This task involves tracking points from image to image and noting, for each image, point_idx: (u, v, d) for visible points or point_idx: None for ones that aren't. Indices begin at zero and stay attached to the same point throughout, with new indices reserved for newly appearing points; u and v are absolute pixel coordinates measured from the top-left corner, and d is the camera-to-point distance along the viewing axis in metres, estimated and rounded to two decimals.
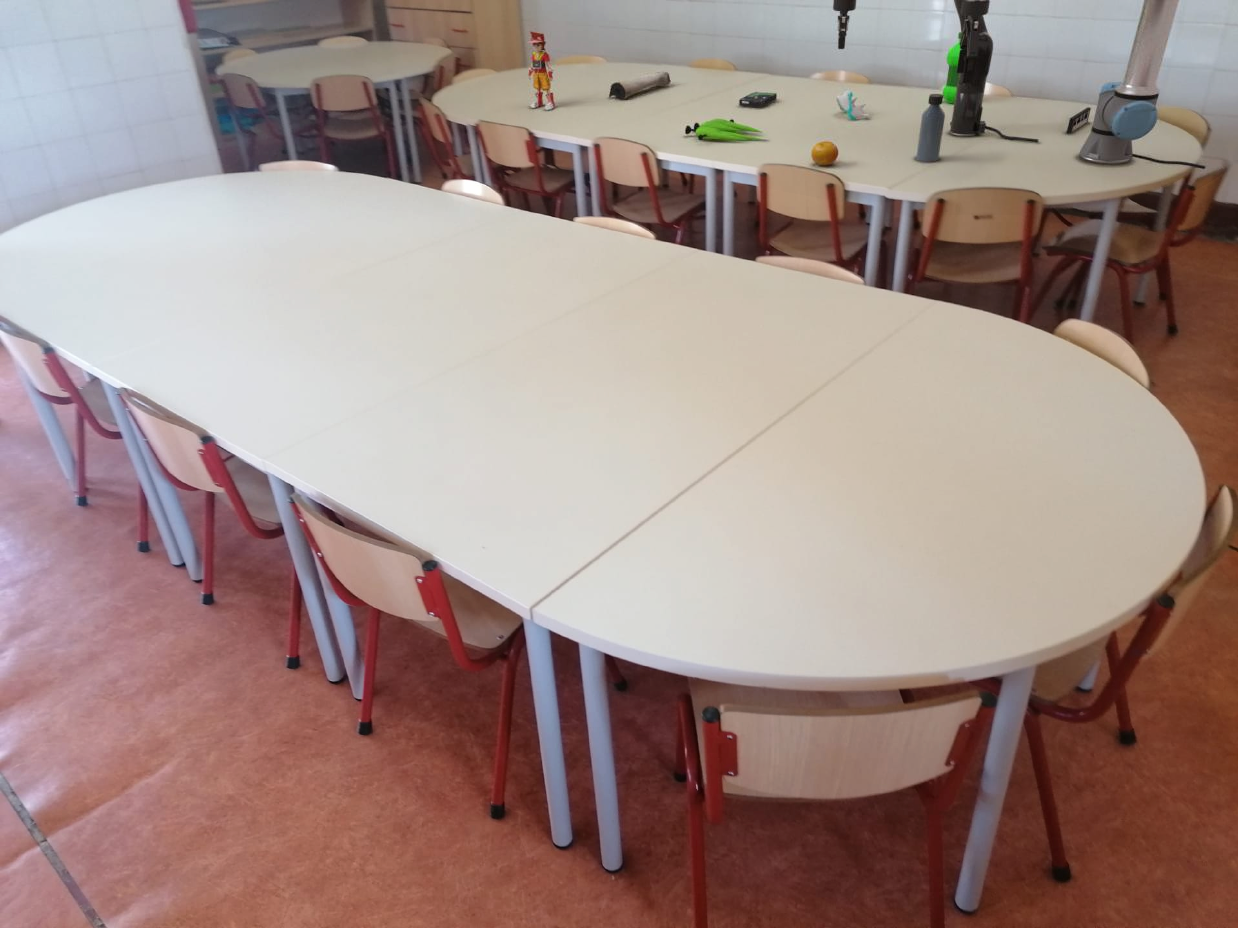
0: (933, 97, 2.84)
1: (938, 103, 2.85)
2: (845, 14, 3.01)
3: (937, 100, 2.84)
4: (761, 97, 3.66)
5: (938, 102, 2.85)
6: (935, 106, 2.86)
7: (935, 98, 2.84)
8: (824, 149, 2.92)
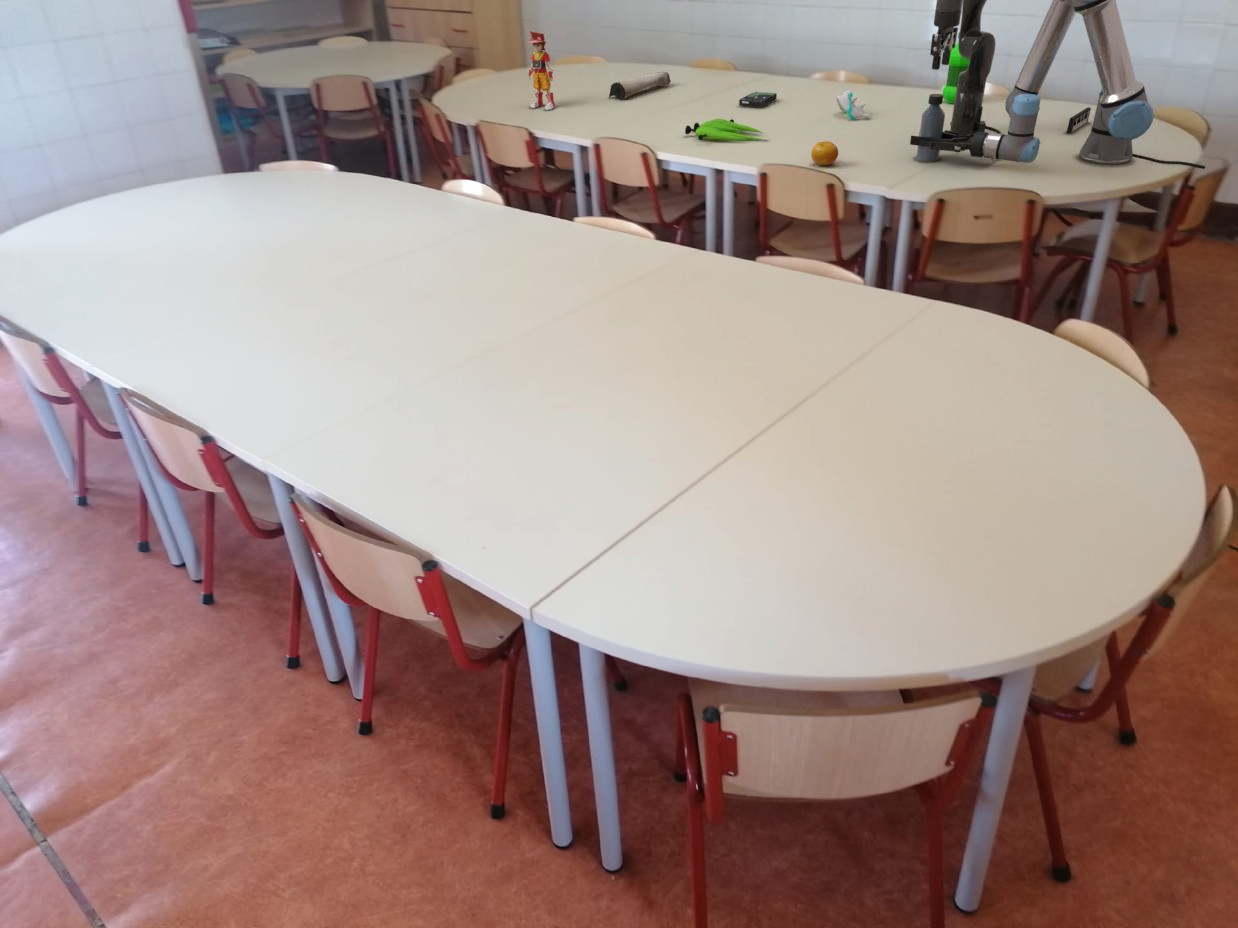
0: (933, 97, 2.84)
1: (938, 103, 2.85)
2: None
3: (937, 100, 2.84)
4: (761, 97, 3.66)
5: (938, 102, 2.85)
6: (935, 106, 2.86)
7: (935, 98, 2.84)
8: (824, 149, 2.92)
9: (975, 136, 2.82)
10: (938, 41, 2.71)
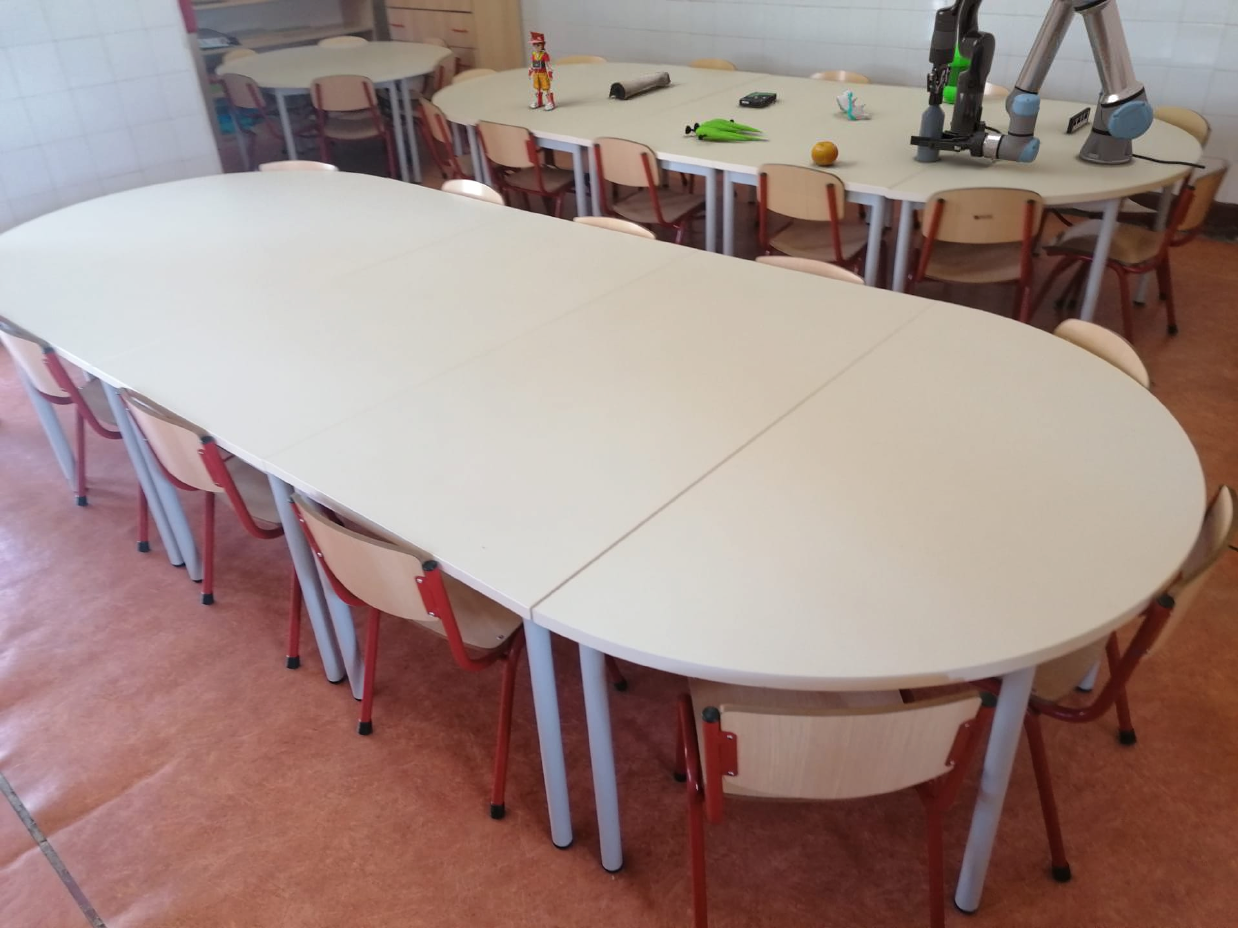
0: None
1: (938, 103, 2.85)
2: None
3: (937, 100, 2.84)
4: (761, 97, 3.66)
5: (938, 102, 2.85)
6: (935, 106, 2.86)
7: None
8: (824, 149, 2.92)
9: (975, 136, 2.82)
10: (933, 80, 2.78)
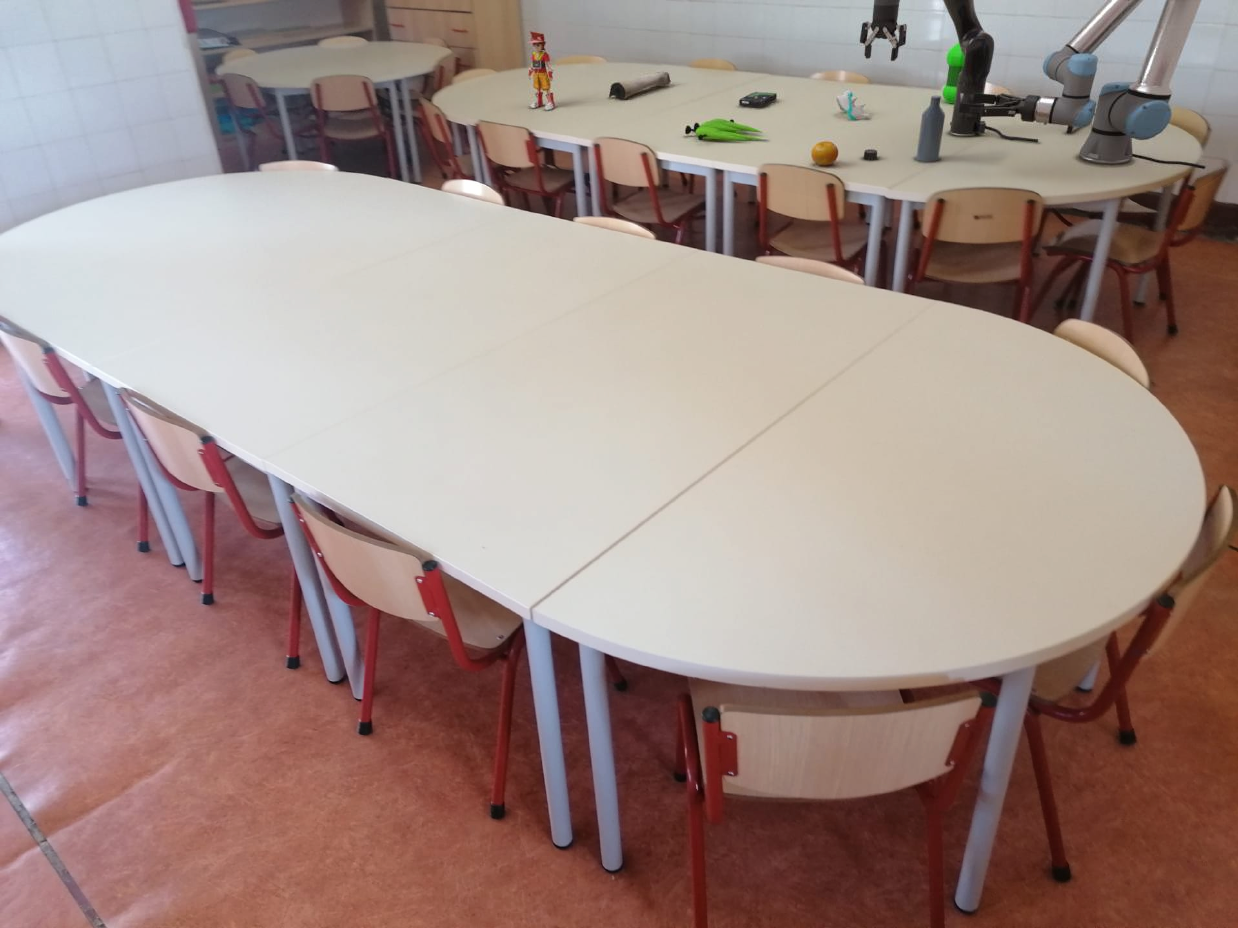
0: None
1: None
2: None
3: None
4: (761, 97, 3.66)
5: None
6: (935, 106, 2.86)
7: None
8: (824, 149, 2.92)
9: (1027, 99, 2.69)
10: (905, 30, 2.75)
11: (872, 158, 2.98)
